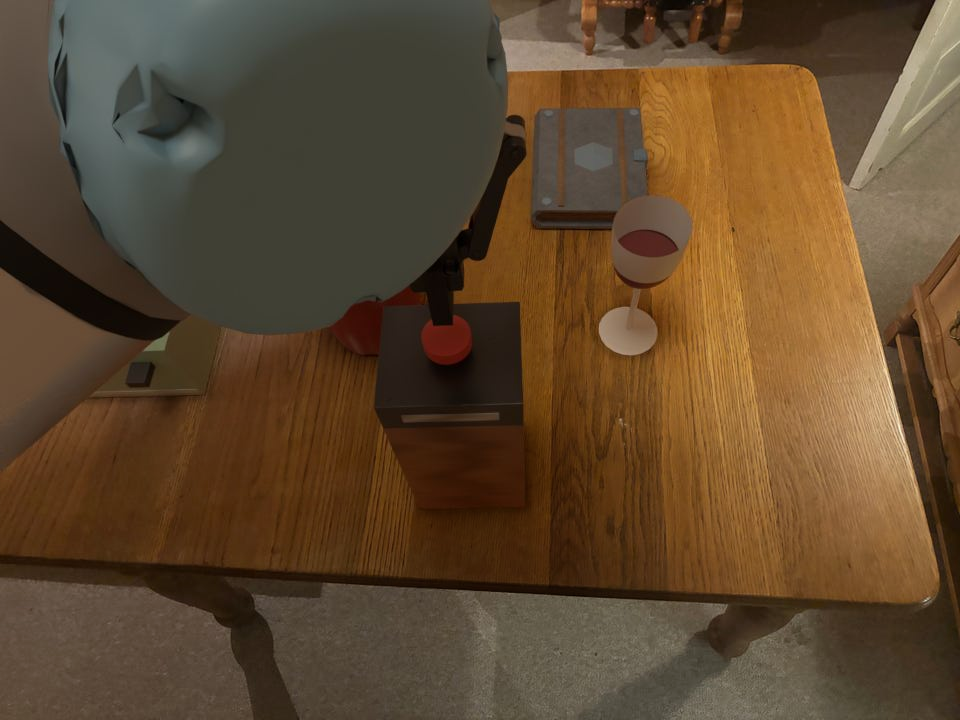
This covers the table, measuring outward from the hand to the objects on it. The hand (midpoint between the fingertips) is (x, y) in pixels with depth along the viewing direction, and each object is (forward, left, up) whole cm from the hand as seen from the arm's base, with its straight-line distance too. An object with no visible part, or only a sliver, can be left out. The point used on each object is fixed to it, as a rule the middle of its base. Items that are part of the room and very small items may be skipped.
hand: (443, 310), depth 50 cm
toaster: (-26, +37, -32) cm, 55 cm away
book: (+41, +27, -32) cm, 59 cm away
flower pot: (+2, +25, -32) cm, 41 cm away
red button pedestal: (0, 0, -32) cm, 32 cm away
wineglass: (+27, +3, -32) cm, 42 cm away
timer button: (0, 0, -5) cm, 5 cm away
